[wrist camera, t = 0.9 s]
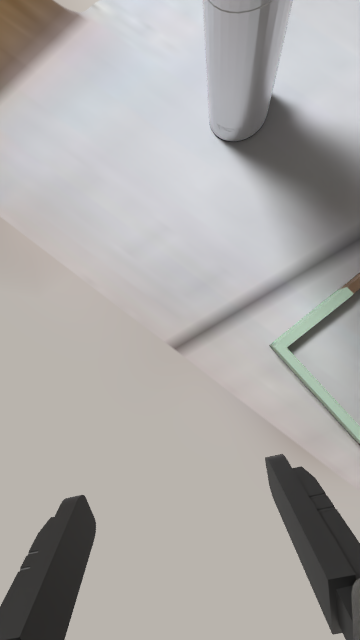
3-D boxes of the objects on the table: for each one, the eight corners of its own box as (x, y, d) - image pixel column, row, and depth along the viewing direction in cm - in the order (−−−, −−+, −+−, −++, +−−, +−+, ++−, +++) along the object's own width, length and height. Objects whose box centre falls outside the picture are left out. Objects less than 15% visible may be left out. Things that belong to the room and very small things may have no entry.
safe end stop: (338, 289, 30) (350, 285, 27) (443, 392, 28) (470, 399, 25) (269, 345, 32) (274, 347, 29) (362, 447, 29) (378, 461, 26)
